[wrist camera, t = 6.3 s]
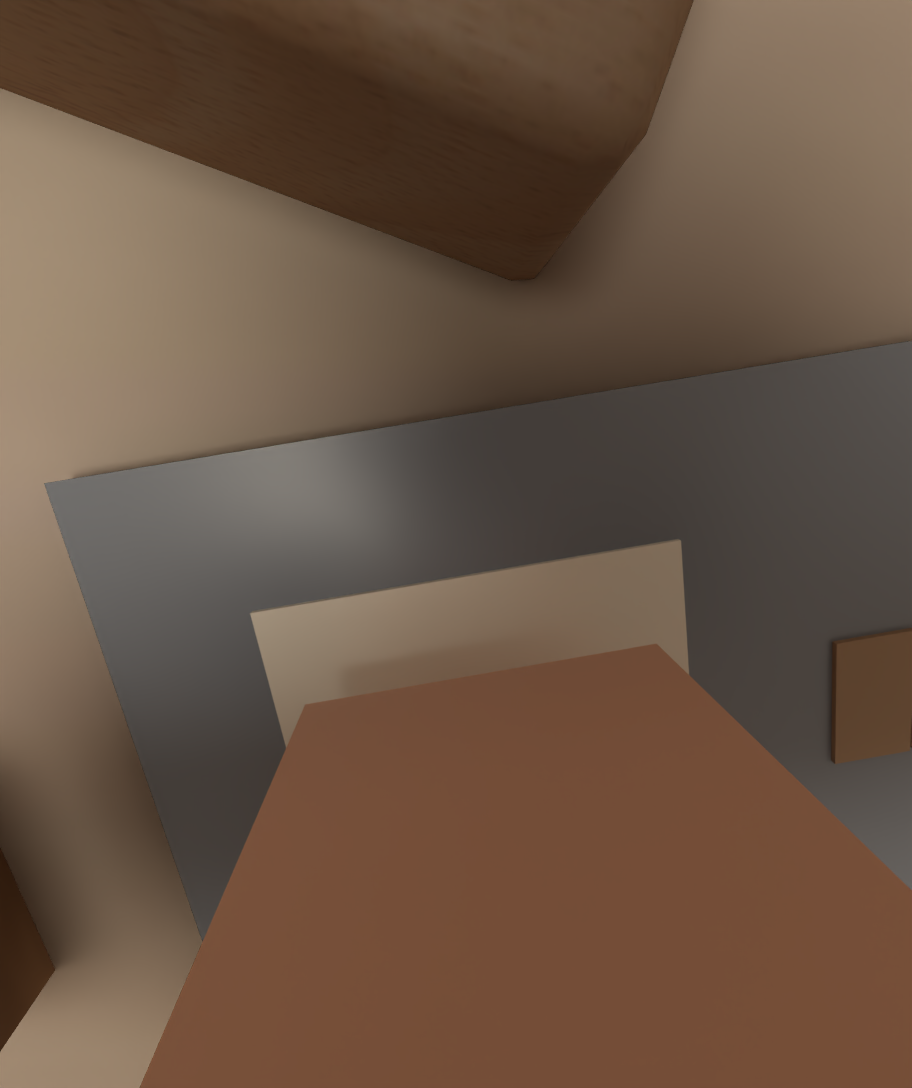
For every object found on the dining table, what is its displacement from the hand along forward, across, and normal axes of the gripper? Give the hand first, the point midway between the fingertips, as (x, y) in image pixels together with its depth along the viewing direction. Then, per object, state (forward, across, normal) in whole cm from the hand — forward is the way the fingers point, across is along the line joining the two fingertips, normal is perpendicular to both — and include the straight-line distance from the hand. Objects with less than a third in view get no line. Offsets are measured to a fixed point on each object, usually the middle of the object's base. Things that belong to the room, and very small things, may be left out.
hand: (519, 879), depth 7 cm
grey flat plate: (+3, -2, 0) cm, 4 cm away
